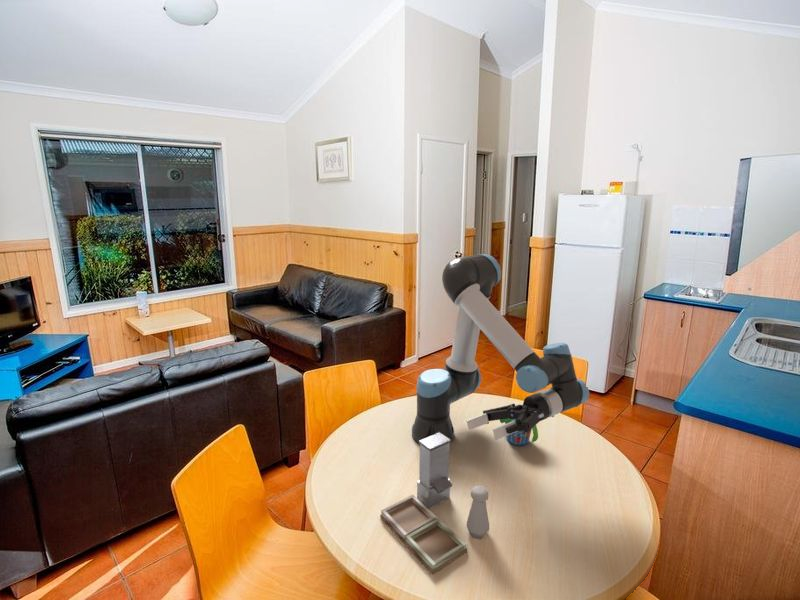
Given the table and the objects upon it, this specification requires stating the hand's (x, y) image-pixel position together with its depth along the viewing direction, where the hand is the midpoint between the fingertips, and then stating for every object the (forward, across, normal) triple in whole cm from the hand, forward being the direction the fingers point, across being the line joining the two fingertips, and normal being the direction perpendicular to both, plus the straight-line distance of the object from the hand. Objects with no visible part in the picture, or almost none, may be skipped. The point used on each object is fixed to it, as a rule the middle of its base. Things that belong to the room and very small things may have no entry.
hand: (480, 429), depth 119 cm
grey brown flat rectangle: (+23, +2, -20) cm, 31 cm away
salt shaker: (+10, -3, -24) cm, 26 cm away
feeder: (+13, +11, -18) cm, 25 cm away
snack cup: (-27, +27, -18) cm, 42 cm away
